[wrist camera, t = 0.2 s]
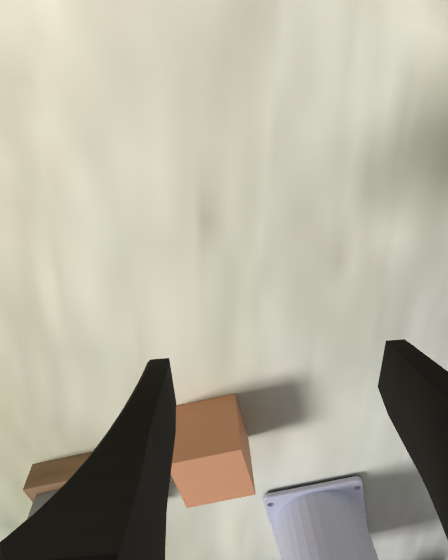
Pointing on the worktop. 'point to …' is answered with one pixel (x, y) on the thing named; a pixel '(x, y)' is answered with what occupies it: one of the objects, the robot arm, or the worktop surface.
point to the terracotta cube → (211, 452)
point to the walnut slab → (52, 474)
